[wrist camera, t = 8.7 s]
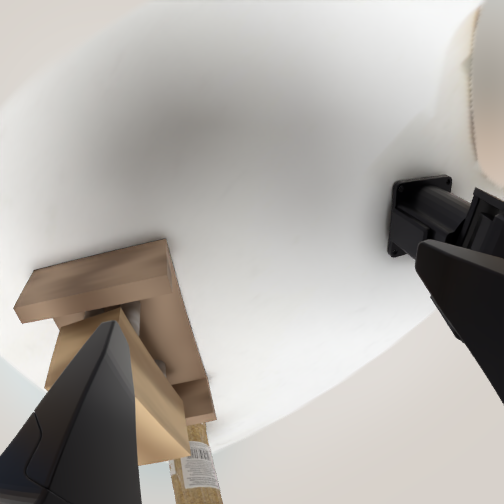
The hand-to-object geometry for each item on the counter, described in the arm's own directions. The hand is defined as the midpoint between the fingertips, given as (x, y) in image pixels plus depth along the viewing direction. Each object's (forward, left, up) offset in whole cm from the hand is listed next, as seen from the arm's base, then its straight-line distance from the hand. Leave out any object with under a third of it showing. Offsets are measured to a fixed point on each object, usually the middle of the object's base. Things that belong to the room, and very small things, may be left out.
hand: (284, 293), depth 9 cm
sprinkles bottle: (+8, +25, -13) cm, 29 cm away
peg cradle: (+9, +11, -12) cm, 19 cm away
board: (+9, +11, -9) cm, 16 cm away
